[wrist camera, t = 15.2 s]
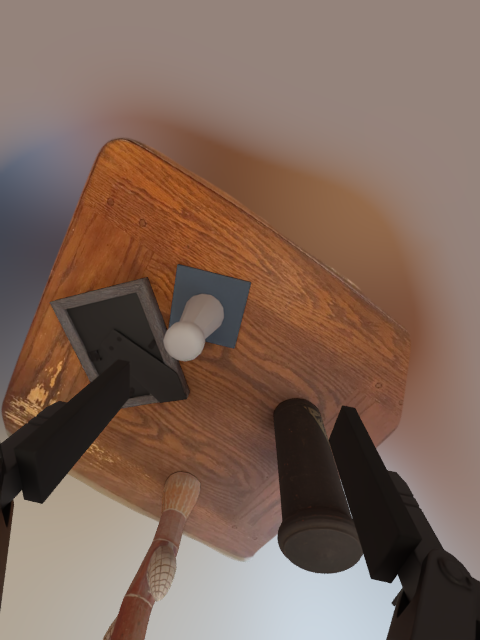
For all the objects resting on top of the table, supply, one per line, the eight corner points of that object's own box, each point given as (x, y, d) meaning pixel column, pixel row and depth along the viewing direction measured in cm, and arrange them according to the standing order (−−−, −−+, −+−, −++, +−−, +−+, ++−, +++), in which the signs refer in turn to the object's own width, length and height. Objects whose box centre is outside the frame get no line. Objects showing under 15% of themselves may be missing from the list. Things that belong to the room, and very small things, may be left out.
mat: (251, 282, 36) (251, 282, 35) (234, 347, 40) (234, 348, 39) (178, 263, 36) (177, 264, 35) (169, 330, 40) (167, 332, 39)
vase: (192, 467, 50) (103, 775, 21) (209, 491, 52) (148, 801, 23) (150, 479, 52) (19, 773, 24) (168, 502, 54) (66, 797, 26)
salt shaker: (207, 282, 36) (180, 307, 24) (234, 310, 37) (220, 348, 25) (181, 307, 37) (142, 343, 25) (207, 333, 39) (182, 380, 26)
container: (307, 442, 45) (341, 592, 26) (263, 425, 45) (265, 565, 26) (331, 408, 42) (388, 549, 23) (284, 389, 42) (304, 518, 23)
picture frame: (190, 391, 43) (147, 276, 37) (186, 399, 42) (141, 279, 35) (110, 405, 46) (57, 299, 39) (103, 412, 44) (47, 303, 37)
